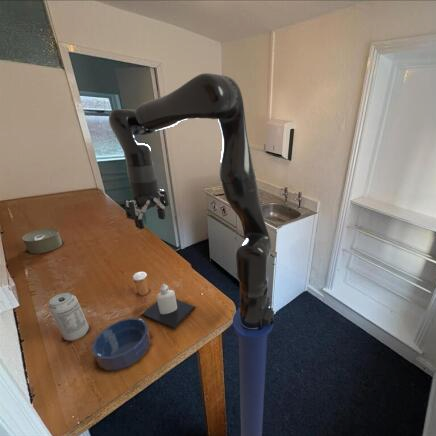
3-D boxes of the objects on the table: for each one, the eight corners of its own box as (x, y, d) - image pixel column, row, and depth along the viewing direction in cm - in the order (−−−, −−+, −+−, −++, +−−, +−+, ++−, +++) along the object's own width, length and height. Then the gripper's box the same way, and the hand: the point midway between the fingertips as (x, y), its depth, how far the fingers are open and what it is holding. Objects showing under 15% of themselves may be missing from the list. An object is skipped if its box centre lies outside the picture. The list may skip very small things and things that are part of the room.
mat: (194, 307, 86) (194, 306, 86) (174, 329, 78) (173, 327, 78) (165, 296, 90) (164, 295, 90) (142, 315, 82) (141, 313, 81)
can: (65, 238, 120) (60, 226, 117) (60, 250, 111) (54, 237, 108) (32, 243, 114) (26, 231, 111) (24, 256, 105) (17, 243, 102)
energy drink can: (85, 322, 77) (70, 288, 71) (92, 332, 74) (77, 297, 68) (61, 334, 73) (43, 299, 66) (68, 345, 70) (50, 309, 63)
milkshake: (132, 296, 89) (126, 275, 85) (143, 287, 94) (138, 267, 89) (141, 299, 88) (136, 278, 84) (153, 289, 93) (148, 269, 89)
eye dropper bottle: (164, 304, 86) (158, 279, 80) (179, 306, 86) (174, 280, 81) (157, 314, 82) (151, 288, 77) (173, 315, 82) (168, 289, 77)
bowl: (160, 338, 74) (157, 326, 72) (120, 378, 63) (115, 366, 61) (129, 324, 78) (125, 312, 76) (86, 360, 67) (80, 347, 64)
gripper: (131, 186, 67) (142, 234, 74) (169, 175, 79) (176, 217, 86) (112, 181, 69) (124, 229, 76) (152, 171, 81) (160, 213, 88)
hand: (151, 223), depth 81 cm, fingers open, 8 cm apart
